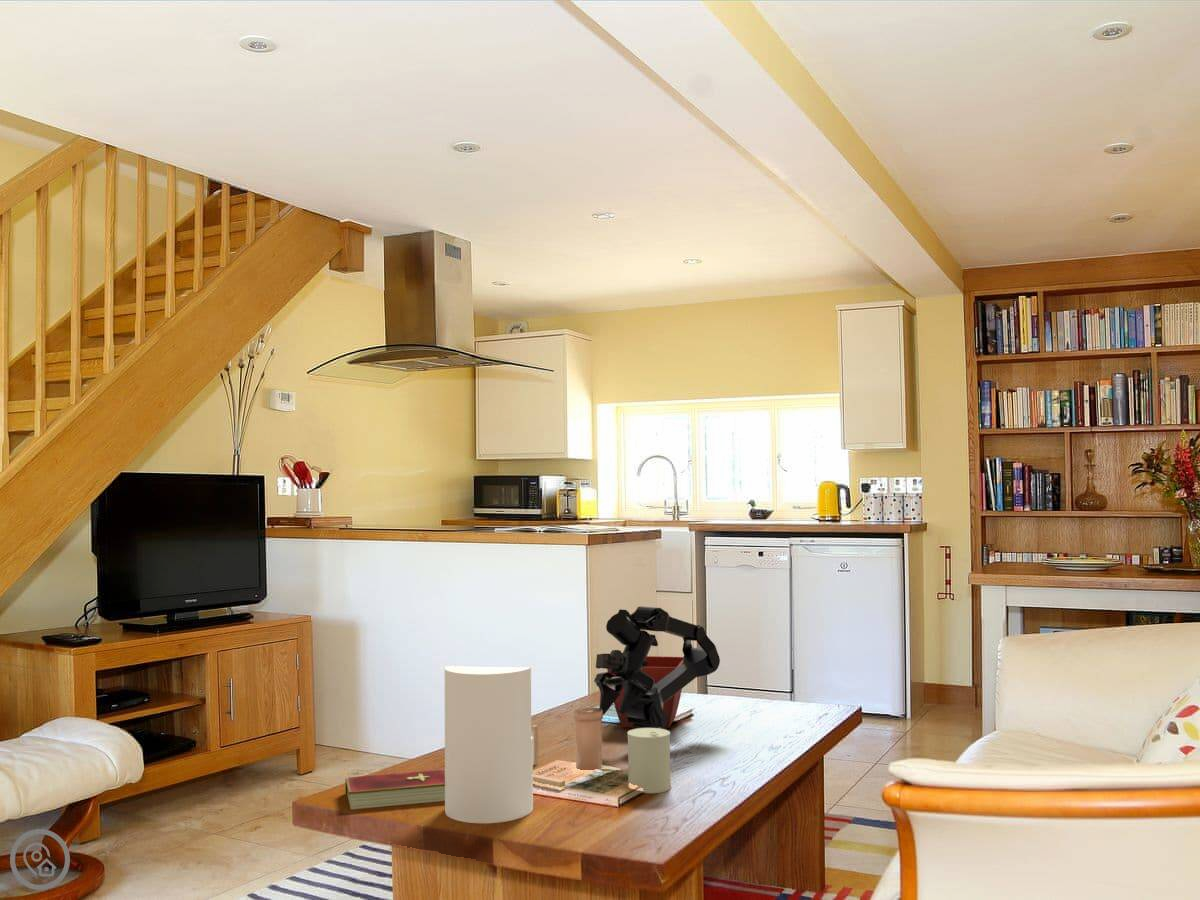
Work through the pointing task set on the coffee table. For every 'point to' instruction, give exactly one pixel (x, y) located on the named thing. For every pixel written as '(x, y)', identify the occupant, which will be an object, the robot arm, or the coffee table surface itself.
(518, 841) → the coffee table surface
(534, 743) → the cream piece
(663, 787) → the can
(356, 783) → the hardcover book
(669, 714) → the plant pot
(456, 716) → the cylinder
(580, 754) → the tan tall round cup
